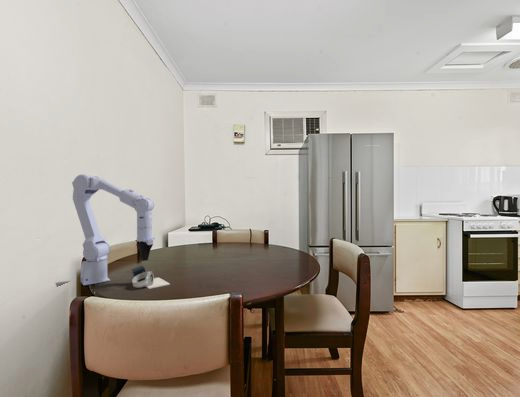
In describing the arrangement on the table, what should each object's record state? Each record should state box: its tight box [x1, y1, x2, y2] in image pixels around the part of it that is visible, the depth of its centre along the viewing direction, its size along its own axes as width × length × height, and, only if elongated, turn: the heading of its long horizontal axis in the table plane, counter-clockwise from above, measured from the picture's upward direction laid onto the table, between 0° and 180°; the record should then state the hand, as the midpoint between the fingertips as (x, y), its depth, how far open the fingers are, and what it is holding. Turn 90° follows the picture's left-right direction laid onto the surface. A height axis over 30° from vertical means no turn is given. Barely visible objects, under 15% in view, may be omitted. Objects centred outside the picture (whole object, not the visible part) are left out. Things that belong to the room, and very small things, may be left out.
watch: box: [131, 265, 155, 289], centre depth 109 cm, size 6×8×11 cm
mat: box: [141, 276, 171, 290], centre depth 111 cm, size 8×12×1 cm, turn 40°
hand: (144, 260), depth 115 cm, fingers closed
